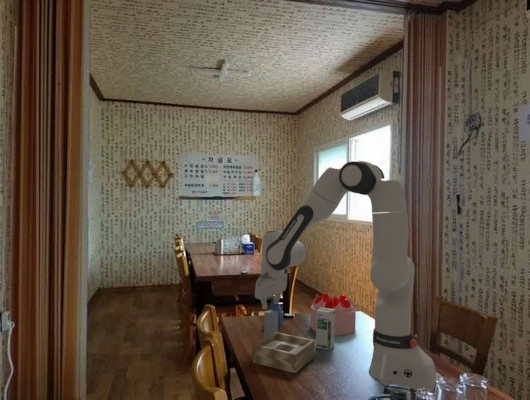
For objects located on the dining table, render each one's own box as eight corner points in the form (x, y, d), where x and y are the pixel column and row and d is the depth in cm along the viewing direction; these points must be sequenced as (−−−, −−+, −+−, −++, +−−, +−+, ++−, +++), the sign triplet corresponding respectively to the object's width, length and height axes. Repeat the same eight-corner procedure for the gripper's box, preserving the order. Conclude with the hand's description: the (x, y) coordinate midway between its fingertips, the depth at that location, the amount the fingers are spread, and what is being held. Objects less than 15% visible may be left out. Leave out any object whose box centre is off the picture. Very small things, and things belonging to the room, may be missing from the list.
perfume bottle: (280, 327, 172) (280, 300, 172) (266, 326, 173) (266, 299, 173) (282, 323, 178) (282, 297, 178) (269, 322, 179) (269, 296, 179)
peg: (277, 341, 154) (278, 311, 154) (272, 345, 151) (273, 314, 151) (268, 340, 156) (269, 310, 156) (263, 343, 153) (264, 312, 153)
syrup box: (315, 348, 149) (316, 310, 149) (320, 343, 154) (321, 306, 154) (329, 351, 146) (330, 312, 146) (334, 346, 151) (335, 308, 151)
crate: (314, 356, 140) (314, 340, 140) (295, 373, 126) (295, 354, 126) (274, 347, 148) (275, 331, 148) (253, 362, 134) (253, 344, 134)
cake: (308, 321, 183) (309, 290, 183) (351, 322, 182) (352, 292, 182) (312, 335, 163) (312, 301, 163) (360, 337, 162) (360, 302, 162)
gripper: (266, 276, 143) (264, 313, 143) (290, 268, 161) (289, 301, 161) (251, 274, 146) (250, 310, 146) (276, 266, 164) (275, 299, 164)
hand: (270, 306), depth 154 cm, fingers open, 8 cm apart
